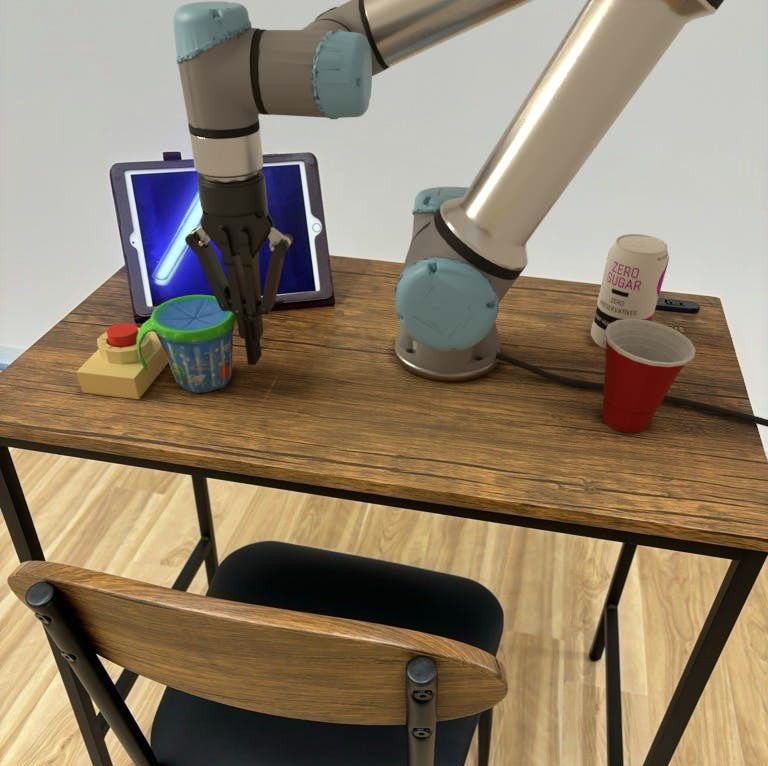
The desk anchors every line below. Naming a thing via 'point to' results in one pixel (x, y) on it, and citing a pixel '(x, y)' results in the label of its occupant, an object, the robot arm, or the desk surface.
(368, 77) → the robot arm
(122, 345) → the button
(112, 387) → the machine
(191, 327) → the snack cup
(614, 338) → the plastic cup
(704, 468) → the desk surface
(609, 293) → the supplement can
